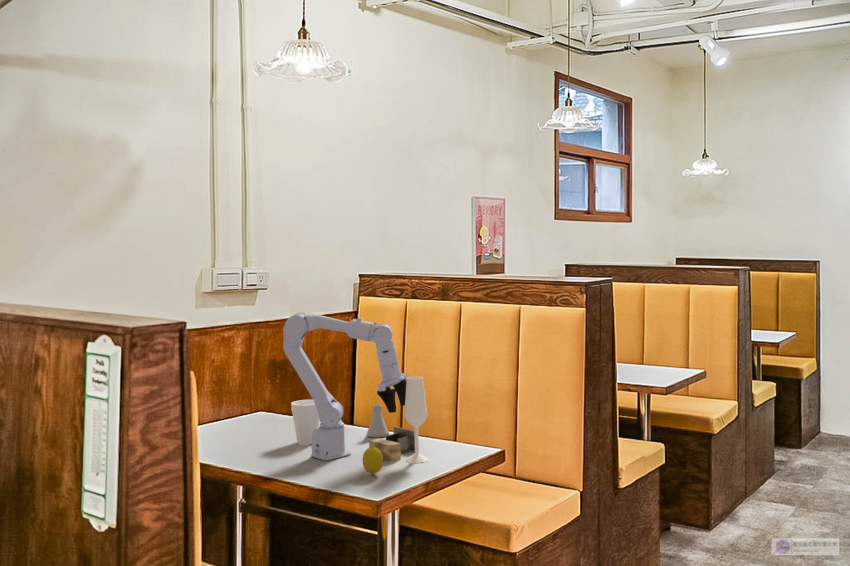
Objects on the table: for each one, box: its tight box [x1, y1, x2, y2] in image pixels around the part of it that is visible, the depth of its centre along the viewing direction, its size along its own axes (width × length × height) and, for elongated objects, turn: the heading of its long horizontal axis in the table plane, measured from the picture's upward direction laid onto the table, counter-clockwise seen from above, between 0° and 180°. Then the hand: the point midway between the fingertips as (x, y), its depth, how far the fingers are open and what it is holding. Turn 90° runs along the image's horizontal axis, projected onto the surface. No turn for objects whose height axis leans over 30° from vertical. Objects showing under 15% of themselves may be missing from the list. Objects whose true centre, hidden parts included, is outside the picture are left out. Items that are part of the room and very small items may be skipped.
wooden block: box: [368, 437, 402, 462], centre depth 229 cm, size 10×4×5 cm, turn 44°
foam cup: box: [290, 399, 321, 446], centre depth 249 cm, size 10×9×13 cm
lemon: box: [362, 446, 384, 476], centre depth 211 cm, size 6×6×8 cm
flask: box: [366, 404, 390, 439], centre depth 256 cm, size 7×7×10 cm
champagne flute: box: [403, 375, 429, 464], centre depth 224 cm, size 7×7×24 cm
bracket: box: [385, 426, 415, 454], centre depth 237 cm, size 6×10×6 cm, turn 43°
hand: (398, 408), depth 232 cm, fingers open, 7 cm apart
